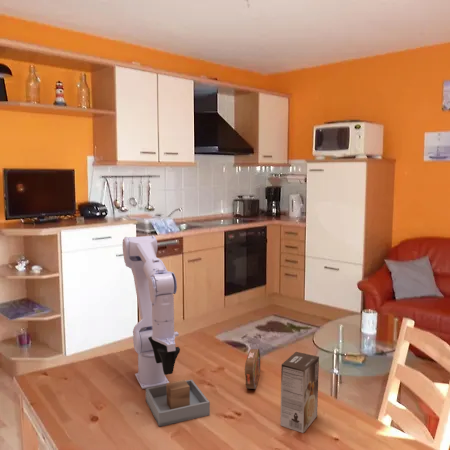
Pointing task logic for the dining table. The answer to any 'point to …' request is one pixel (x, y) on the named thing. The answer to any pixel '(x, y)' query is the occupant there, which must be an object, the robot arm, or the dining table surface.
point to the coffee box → (299, 391)
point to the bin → (167, 416)
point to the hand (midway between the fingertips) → (164, 367)
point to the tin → (252, 368)
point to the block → (178, 394)
